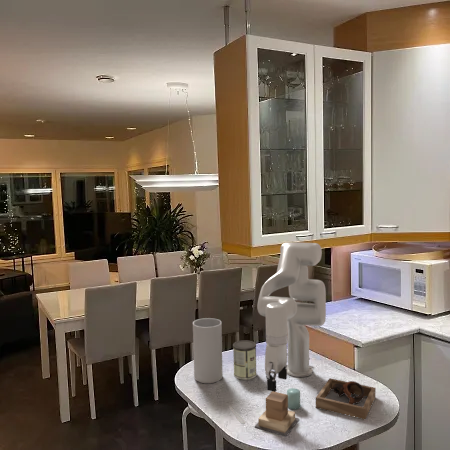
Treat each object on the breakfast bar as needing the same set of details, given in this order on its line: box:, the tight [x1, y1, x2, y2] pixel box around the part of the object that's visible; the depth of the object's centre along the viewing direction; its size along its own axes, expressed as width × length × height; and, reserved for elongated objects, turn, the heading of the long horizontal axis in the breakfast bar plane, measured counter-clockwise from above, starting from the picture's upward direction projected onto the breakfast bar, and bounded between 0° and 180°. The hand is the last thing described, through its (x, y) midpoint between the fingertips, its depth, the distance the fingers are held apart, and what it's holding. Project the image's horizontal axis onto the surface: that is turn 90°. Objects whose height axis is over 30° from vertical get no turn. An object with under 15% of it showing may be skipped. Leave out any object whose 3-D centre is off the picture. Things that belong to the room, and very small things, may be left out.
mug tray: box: [315, 377, 377, 420], centre depth 172 cm, size 18×18×4 cm
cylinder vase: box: [192, 317, 224, 384], centre depth 195 cm, size 12×12×25 cm
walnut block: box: [265, 391, 289, 421], centre depth 158 cm, size 6×6×7 cm
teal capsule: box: [286, 387, 301, 410], centre depth 170 cm, size 5×5×6 cm
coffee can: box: [232, 339, 257, 381], centre depth 197 cm, size 10×10×14 cm
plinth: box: [254, 409, 300, 437], centre depth 158 cm, size 12×12×3 cm
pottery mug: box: [332, 380, 365, 405], centre depth 174 cm, size 12×10×8 cm
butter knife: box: [228, 405, 246, 425], centre depth 171 cm, size 1×27×3 cm
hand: (277, 384), depth 158 cm, fingers open, 9 cm apart
